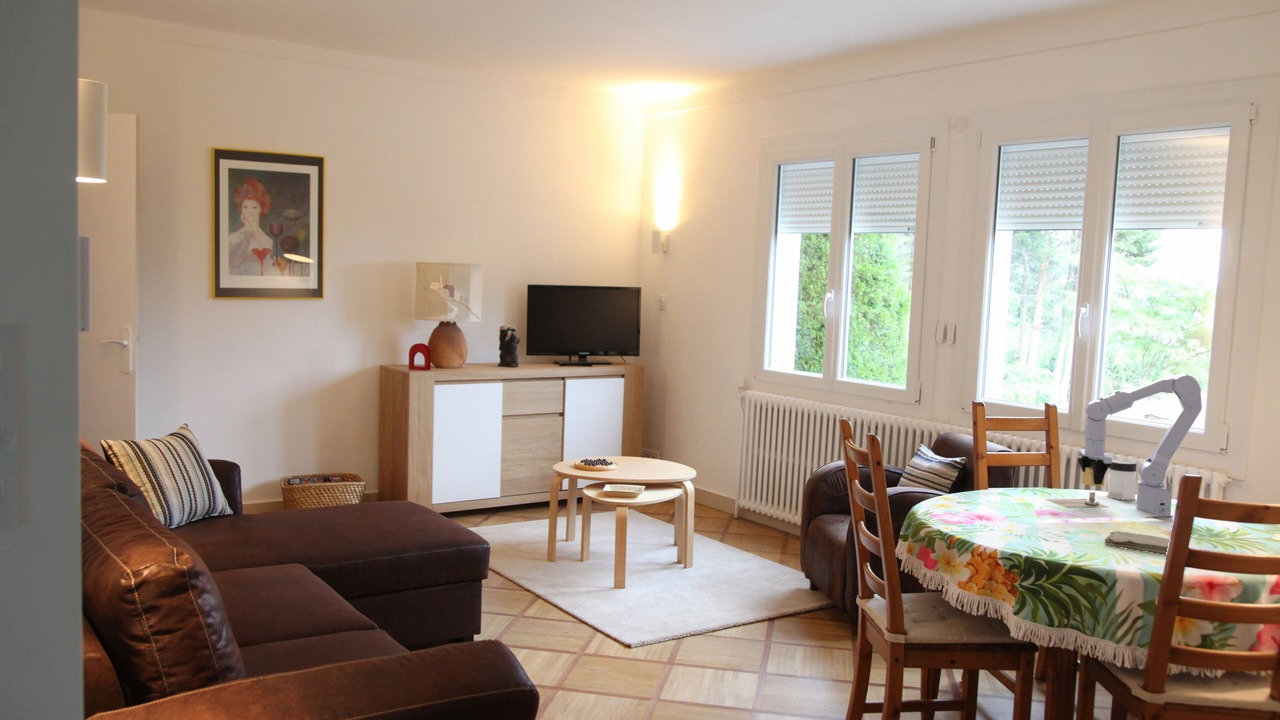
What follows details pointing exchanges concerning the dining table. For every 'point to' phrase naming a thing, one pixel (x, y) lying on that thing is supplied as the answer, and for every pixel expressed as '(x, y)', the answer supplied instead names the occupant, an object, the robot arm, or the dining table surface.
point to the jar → (1122, 480)
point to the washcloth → (1138, 542)
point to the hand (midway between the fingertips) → (1092, 482)
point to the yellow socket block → (1089, 477)
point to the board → (1074, 503)
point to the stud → (1092, 500)
